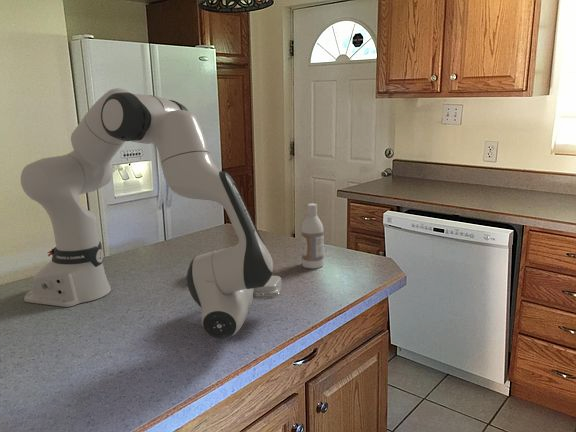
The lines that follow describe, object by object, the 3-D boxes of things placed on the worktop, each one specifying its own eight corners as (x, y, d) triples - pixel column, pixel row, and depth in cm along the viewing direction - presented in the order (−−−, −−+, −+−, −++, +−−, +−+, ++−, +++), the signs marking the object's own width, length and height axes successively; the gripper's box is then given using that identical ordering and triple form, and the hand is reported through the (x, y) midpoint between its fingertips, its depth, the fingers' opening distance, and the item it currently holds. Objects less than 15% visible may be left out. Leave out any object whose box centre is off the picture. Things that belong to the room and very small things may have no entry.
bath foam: (298, 263, 160) (297, 203, 155) (317, 260, 162) (317, 201, 158) (307, 270, 154) (306, 207, 149) (327, 267, 156) (327, 205, 151)
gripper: (278, 283, 115) (284, 263, 128) (192, 282, 117) (207, 262, 130) (279, 308, 116) (285, 286, 130) (194, 306, 119) (209, 285, 132)
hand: (245, 274), depth 130 cm, fingers open, 8 cm apart
